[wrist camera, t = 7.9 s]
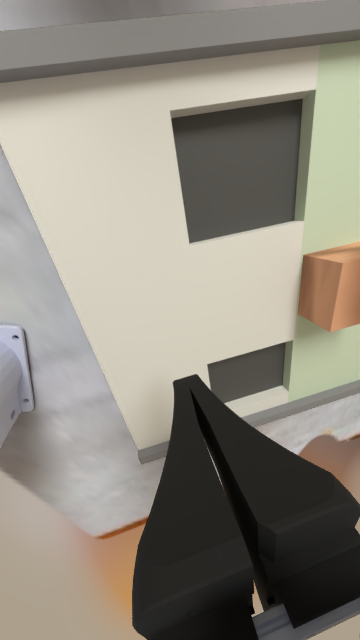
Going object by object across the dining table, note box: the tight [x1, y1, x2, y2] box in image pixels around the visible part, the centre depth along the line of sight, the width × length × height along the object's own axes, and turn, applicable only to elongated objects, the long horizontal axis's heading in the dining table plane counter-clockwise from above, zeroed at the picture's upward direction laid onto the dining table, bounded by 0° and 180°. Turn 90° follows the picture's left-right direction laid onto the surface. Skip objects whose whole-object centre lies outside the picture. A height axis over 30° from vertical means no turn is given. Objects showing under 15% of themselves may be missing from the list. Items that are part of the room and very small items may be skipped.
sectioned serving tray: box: [0, 0, 360, 464], centre depth 20 cm, size 35×34×2 cm
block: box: [298, 242, 360, 332], centre depth 19 cm, size 6×6×4 cm
